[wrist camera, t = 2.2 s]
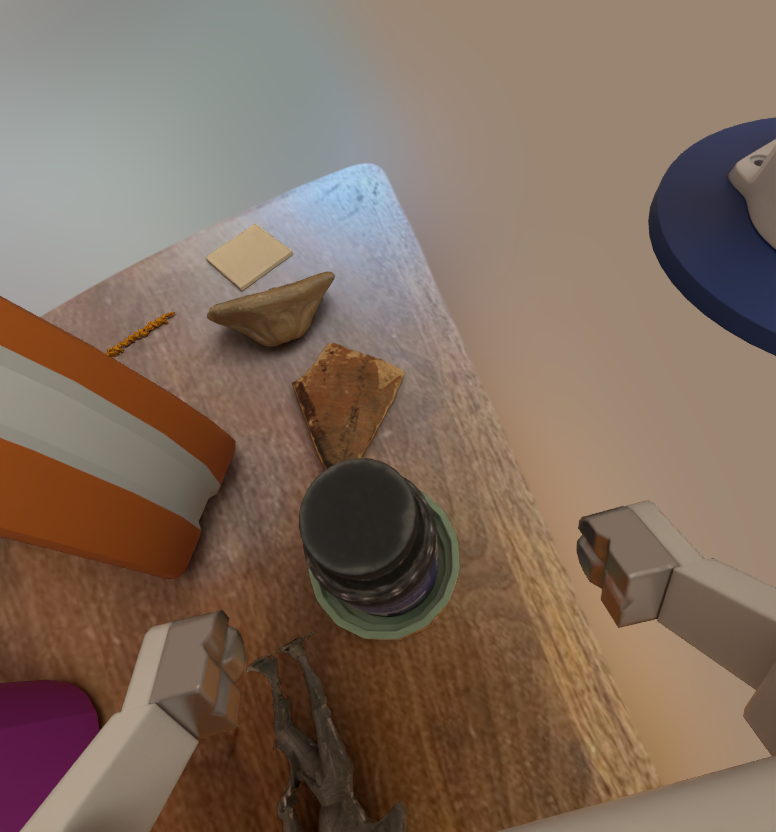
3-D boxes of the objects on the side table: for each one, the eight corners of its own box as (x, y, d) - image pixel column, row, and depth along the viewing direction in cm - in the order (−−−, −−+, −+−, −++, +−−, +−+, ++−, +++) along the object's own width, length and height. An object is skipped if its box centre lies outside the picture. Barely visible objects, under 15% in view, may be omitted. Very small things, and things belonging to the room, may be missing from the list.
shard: (342, 509, 29) (336, 501, 27) (249, 466, 31) (239, 456, 30) (410, 380, 33) (408, 366, 32) (324, 350, 35) (318, 336, 34)
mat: (256, 226, 43) (255, 223, 43) (293, 254, 41) (292, 250, 41) (207, 260, 42) (205, 257, 42) (242, 291, 40) (240, 288, 39)
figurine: (313, 614, 23) (410, 937, 16) (350, 615, 26) (442, 884, 19) (222, 668, 24) (278, 993, 17) (268, 663, 27) (330, 935, 20)
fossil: (346, 259, 32) (210, 303, 28) (365, 317, 33) (238, 367, 29) (309, 275, 40) (199, 311, 36) (326, 322, 41) (222, 361, 37)
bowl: (390, 473, 30) (384, 455, 27) (486, 563, 26) (491, 554, 24) (294, 563, 28) (279, 554, 25) (386, 675, 24) (380, 678, 22)
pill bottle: (459, 571, 26) (470, 525, 16) (378, 642, 25) (337, 637, 15) (396, 494, 29) (372, 415, 19) (319, 554, 27) (252, 502, 18)
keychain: (89, 358, 37) (98, 368, 38) (88, 360, 36) (97, 369, 37) (170, 307, 39) (178, 317, 39) (170, 307, 38) (178, 317, 39)
